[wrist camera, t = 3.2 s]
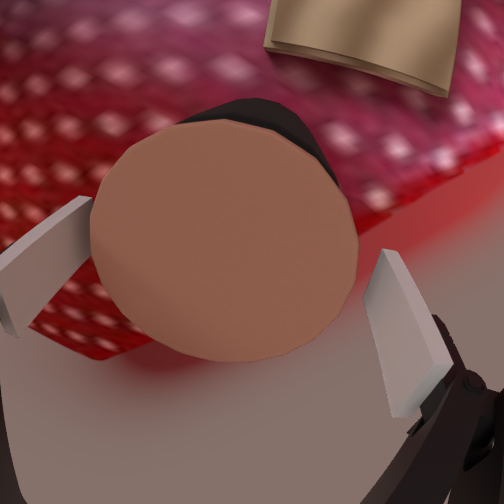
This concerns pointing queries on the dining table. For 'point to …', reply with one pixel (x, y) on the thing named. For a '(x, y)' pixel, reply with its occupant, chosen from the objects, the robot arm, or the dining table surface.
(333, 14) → the plinth
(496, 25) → the dining table surface
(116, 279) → the coffee jar
